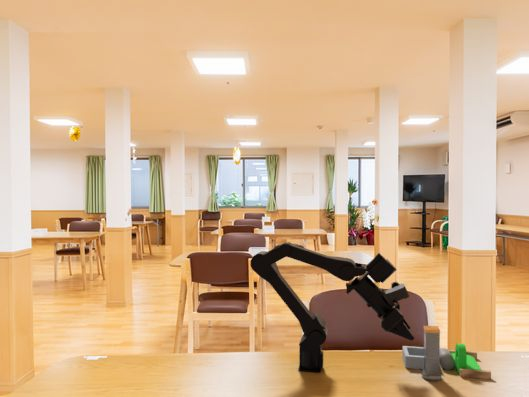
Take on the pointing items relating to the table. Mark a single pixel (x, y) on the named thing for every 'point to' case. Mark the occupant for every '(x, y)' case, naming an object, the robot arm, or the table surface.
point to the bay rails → (473, 373)
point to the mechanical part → (464, 359)
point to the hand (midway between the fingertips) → (411, 334)
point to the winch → (415, 358)
